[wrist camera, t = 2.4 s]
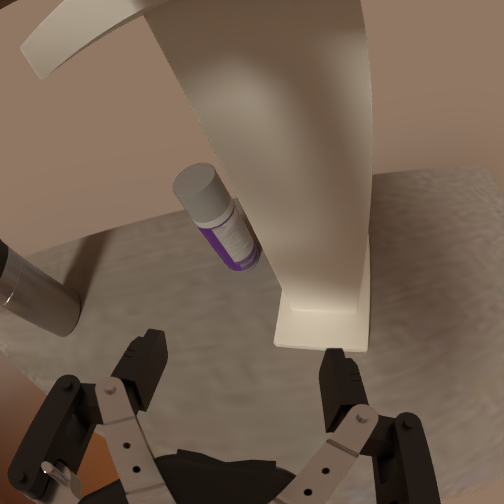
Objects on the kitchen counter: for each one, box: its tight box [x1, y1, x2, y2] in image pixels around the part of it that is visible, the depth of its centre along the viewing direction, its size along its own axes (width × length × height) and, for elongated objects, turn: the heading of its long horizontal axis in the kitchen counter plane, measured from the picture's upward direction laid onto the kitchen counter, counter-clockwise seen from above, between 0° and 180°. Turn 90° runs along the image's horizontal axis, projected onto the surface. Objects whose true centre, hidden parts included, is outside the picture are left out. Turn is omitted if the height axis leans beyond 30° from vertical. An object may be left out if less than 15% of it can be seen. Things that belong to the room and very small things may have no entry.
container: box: [173, 163, 259, 273], centre depth 31 cm, size 5×5×15 cm
